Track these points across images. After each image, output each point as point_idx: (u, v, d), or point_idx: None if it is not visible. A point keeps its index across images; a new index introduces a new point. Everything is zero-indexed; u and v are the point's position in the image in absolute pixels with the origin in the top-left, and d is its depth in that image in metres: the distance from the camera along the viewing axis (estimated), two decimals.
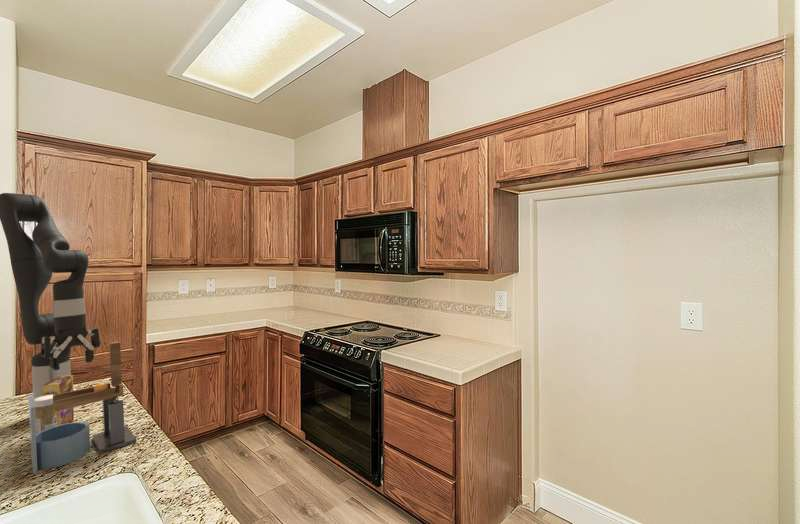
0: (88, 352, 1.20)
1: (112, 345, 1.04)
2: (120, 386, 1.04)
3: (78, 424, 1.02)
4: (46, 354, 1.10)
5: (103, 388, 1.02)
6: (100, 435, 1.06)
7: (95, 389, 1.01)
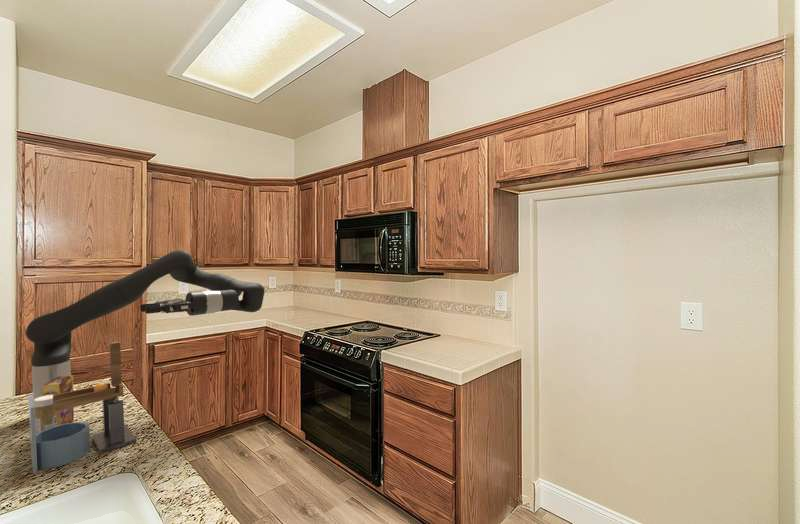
0: None
1: (112, 345, 1.04)
2: (120, 386, 1.04)
3: (78, 424, 1.02)
4: (169, 312, 1.11)
5: (103, 388, 1.02)
6: (100, 435, 1.06)
7: (95, 389, 1.01)
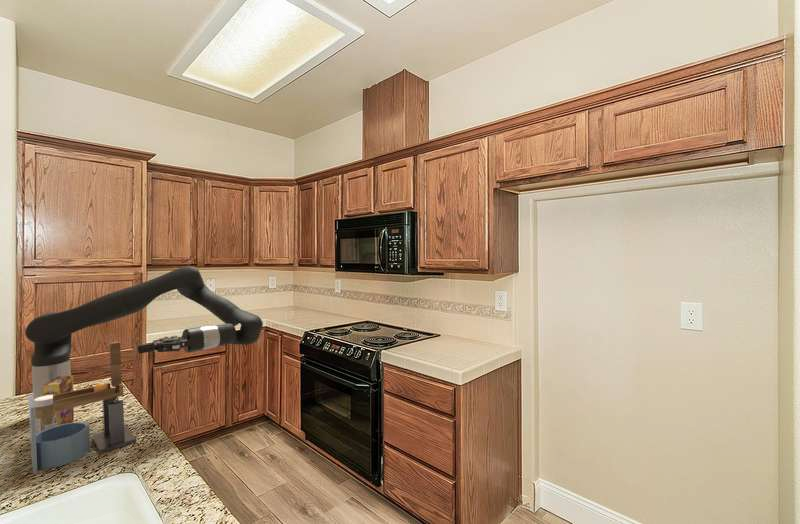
0: None
1: (112, 345, 1.04)
2: (120, 386, 1.04)
3: (78, 424, 1.02)
4: None
5: (103, 388, 1.02)
6: (100, 435, 1.06)
7: (95, 389, 1.01)
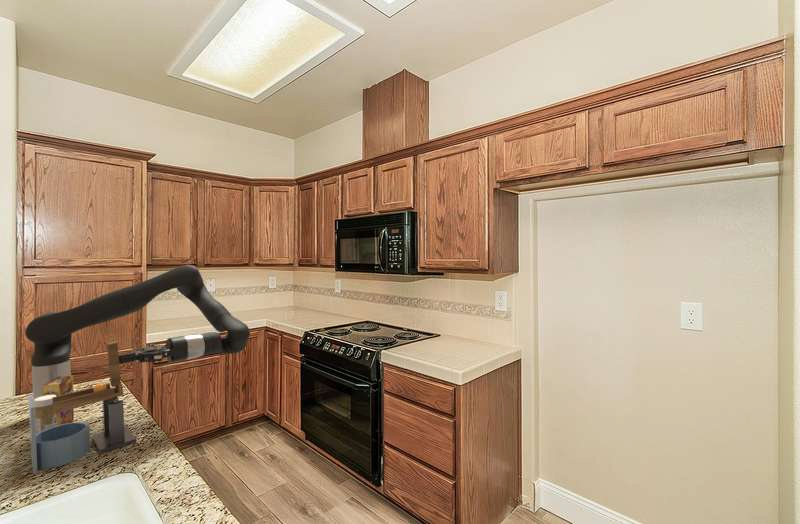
0: None
1: (109, 345, 1.03)
2: (119, 386, 1.04)
3: (78, 424, 1.02)
4: None
5: (103, 388, 1.02)
6: (100, 435, 1.06)
7: (95, 389, 1.01)
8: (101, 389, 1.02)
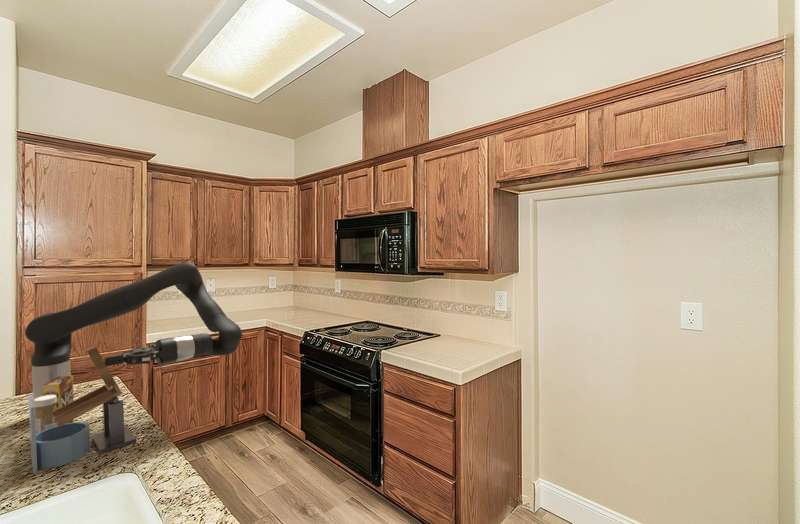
0: None
1: (89, 352, 1.00)
2: (115, 386, 1.03)
3: (78, 424, 1.02)
4: None
5: None
6: (100, 435, 1.06)
7: None
8: None
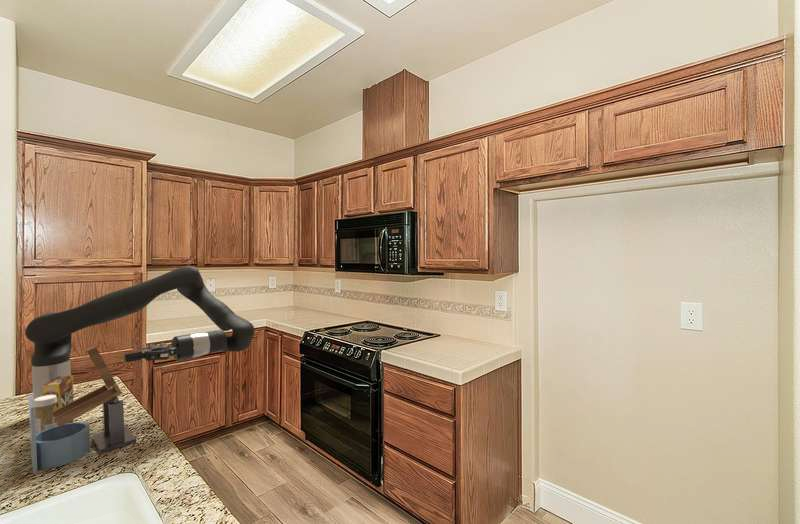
0: None
1: (89, 352, 1.00)
2: (115, 386, 1.03)
3: (78, 424, 1.02)
4: None
5: None
6: (100, 435, 1.06)
7: None
8: None
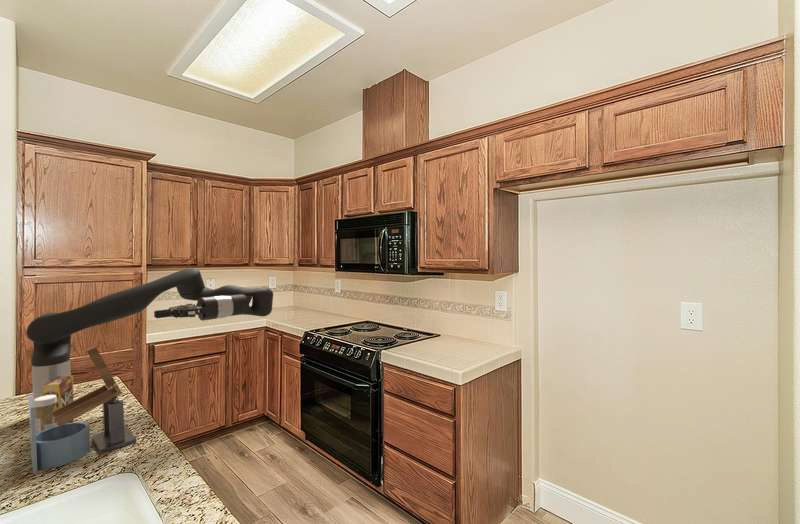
0: None
1: (89, 352, 1.00)
2: (115, 386, 1.03)
3: (78, 424, 1.02)
4: None
5: None
6: (100, 435, 1.06)
7: None
8: None
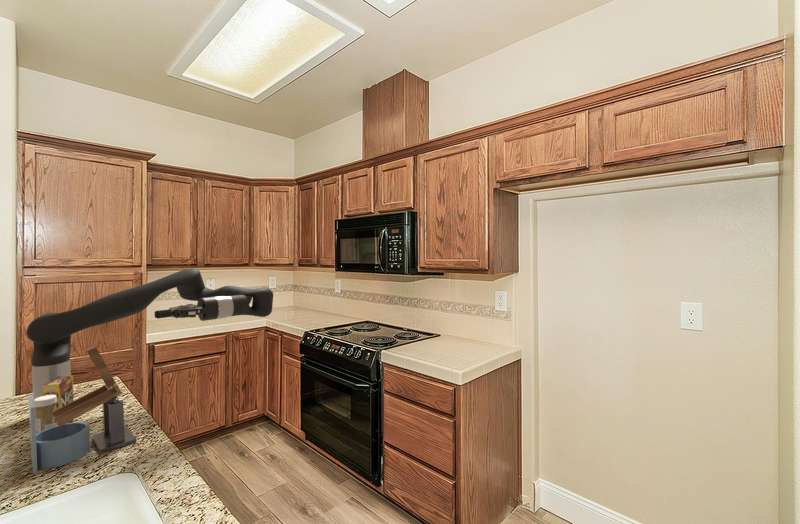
0: None
1: (89, 352, 1.00)
2: (115, 386, 1.03)
3: (78, 424, 1.02)
4: (178, 317, 1.14)
5: None
6: (100, 435, 1.06)
7: None
8: None
